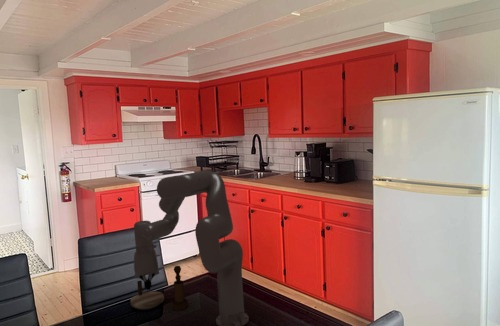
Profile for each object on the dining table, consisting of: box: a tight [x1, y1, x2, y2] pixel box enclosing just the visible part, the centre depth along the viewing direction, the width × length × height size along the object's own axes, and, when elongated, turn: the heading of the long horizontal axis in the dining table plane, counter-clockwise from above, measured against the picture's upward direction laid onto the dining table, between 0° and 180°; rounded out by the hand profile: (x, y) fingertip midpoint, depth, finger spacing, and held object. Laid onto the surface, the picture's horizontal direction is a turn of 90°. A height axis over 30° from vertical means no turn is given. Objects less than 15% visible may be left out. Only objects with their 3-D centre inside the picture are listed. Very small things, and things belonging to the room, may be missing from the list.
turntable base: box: [136, 304, 160, 311], centre depth 168 cm, size 10×10×1 cm
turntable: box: [130, 280, 165, 309], centre depth 167 cm, size 14×14×8 cm
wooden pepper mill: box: [171, 265, 189, 312], centre depth 163 cm, size 7×6×18 cm
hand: (148, 288), depth 173 cm, fingers closed
